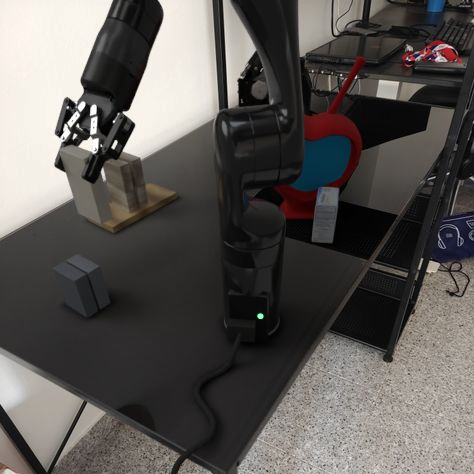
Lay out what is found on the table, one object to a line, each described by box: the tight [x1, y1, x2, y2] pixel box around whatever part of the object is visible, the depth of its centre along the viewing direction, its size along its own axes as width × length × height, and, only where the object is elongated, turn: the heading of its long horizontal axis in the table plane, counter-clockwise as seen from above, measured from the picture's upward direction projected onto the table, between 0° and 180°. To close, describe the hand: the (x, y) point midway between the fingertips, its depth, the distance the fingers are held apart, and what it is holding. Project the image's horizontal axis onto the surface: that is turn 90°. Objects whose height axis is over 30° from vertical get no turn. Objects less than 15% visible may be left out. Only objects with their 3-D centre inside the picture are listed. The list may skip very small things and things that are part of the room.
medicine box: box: [311, 187, 340, 244], centre depth 89 cm, size 8×4×9 cm, turn 169°
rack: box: [86, 150, 178, 234], centre depth 97 cm, size 20×9×12 cm, turn 142°
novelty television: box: [273, 55, 367, 220], centre depth 89 cm, size 21×13×30 cm, turn 86°
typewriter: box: [236, 49, 319, 116], centre depth 112 cm, size 31×27×25 cm
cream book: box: [58, 145, 113, 224], centre depth 68 cm, size 2×6×10 cm, turn 52°
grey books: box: [51, 253, 112, 319], centre depth 74 cm, size 5×6×8 cm
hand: (73, 175), depth 65 cm, fingers closed on cream book, 6 cm apart
